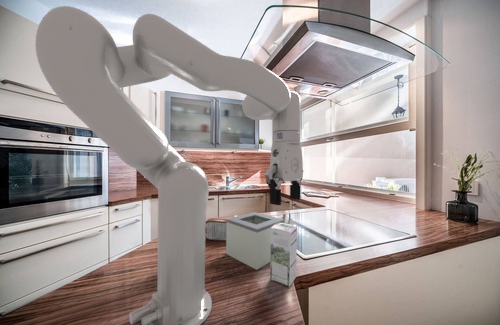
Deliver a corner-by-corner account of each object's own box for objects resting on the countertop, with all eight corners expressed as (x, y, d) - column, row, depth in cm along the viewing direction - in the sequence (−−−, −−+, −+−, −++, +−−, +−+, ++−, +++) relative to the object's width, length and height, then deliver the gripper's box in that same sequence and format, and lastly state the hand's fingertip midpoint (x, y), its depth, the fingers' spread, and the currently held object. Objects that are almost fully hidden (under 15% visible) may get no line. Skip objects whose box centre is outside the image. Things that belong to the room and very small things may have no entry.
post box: (256, 269, 57) (257, 229, 57) (226, 253, 67) (226, 219, 67) (283, 254, 68) (283, 219, 68) (253, 242, 77) (254, 211, 77)
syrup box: (297, 276, 54) (297, 224, 54) (289, 288, 49) (290, 231, 49) (278, 270, 57) (278, 221, 57) (269, 280, 52) (270, 226, 52)
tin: (239, 239, 80) (239, 219, 80) (238, 242, 77) (238, 221, 77) (203, 237, 81) (203, 217, 81) (200, 240, 78) (201, 219, 78)
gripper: (279, 135, 44) (279, 209, 45) (313, 140, 57) (313, 198, 57) (254, 137, 50) (254, 204, 50) (291, 142, 62) (290, 195, 62)
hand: (285, 201), depth 53 cm, fingers open, 9 cm apart
